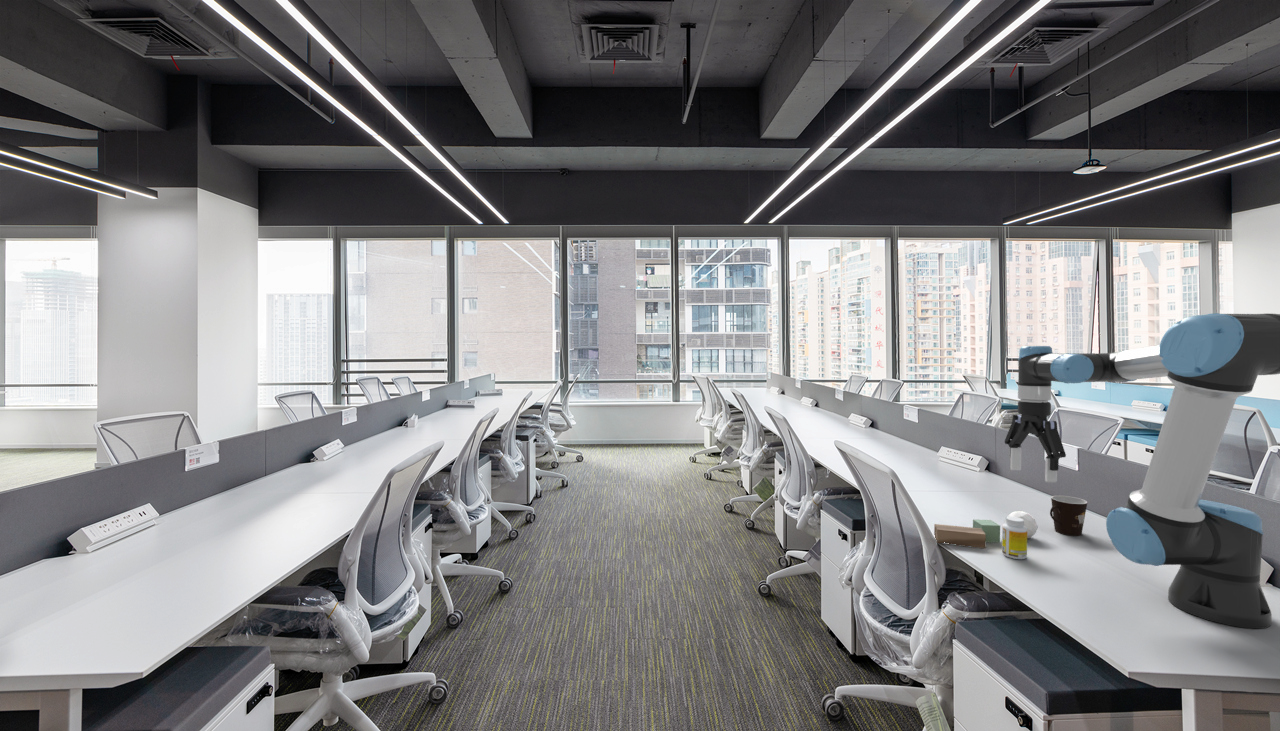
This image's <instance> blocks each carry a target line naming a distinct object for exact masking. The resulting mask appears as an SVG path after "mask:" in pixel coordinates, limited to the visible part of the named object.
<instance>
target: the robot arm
mask: <svg viewBox="0 0 1280 731" xmlns="http://www.w3.org/2000/svg"><path fill="white" fill-rule="evenodd" d="M1018 354H1019V355H1018V359H1017V362H1018V370H1017V373H1018V385H1017V399H1018V400H1019V401H1017V414H1013V415H1012V420H1011V424H1010V427H1009V429H1008V432H1007V434H1006V436H1005V440H1004V444H1005V445H1008V447H1009V449H1010V450H1009V456H1010V457H1009V458H1010V464H1009V465H1010V467H1009V468H1010V471H1022V461H1023V460H1022V457H1023V456H1022V455H1023V454H1022V450H1023V449H1022V444H1023V442H1024V441H1025V439H1027V437H1028V436H1029V434H1031V435H1034V436H1035V437H1037V438H1038V441H1039V442H1040V443H1041V445H1042V448H1043V449H1044V452H1045V454H1046V457H1045V462H1044V463H1045V466H1044V482H1045V483H1058V471H1059V465H1060V464H1059V460H1060V459H1062V458H1066V456H1067V454H1066V451H1065V448H1064V444H1063V442H1062V440H1061V437H1060V434H1059V430H1058V422H1057V421H1056V420H1048V416H1051V415H1052V412H1051V411H1052V403H1051V402H1050V401H1051V400H1052V382H1055V383H1056V382H1057V383H1058V382H1059V383H1064V384H1081V383H1099V382H1101V383H1103V382H1104V383H1127V382H1135V381H1137V380H1142V379H1143V380H1144V379H1145V380H1146V379H1153V378H1164V377H1167V379H1168V380H1169V381H1170V382H1171V384H1173V385H1174V387H1173V391H1172V393H1171V396H1170V397H1171V398H1170V399H1169V400H1170V401H1169V403H1168V406H1167V409H1166V412H1165V416H1164V419H1163V422H1162V425H1161V428H1160V430H1159V433H1158V438H1157V440H1156V443H1155V446H1154V449H1153V453H1152V455H1151V456H1152V457H1151V459H1150V462H1149V465H1148V469H1147V471H1146V474H1145V478H1144V480H1143V484H1142V487H1141V488H1140V489H1136V490H1133V491H1131V492H1130V494H1129V496H1128V499H1127V501H1126V504H1125V507H1123V506H1120V507H1117V508H1115V509H1111V511H1109V513H1108V515H1107V516H1106V521H1105V522H1106V523H1105V525H1106V526H1105V527H1106V532H1107V535H1108V538H1109V539H1110V541H1111V543H1112V545H1113V546H1114V547H1115V549H1116V550H1117V551H1118V553H1119V554H1120V555H1122V556H1123V557H1124V558H1126V559H1127V560H1128V561H1131V562H1132V563H1135V564H1139V565H1148V566H1149V565H1150V566H1155V567H1159V566H1164V565H1165V566H1170V565H1171V566H1174V565H1175V566H1179V565H1180V567H1179V569H1178V571H1177V573H1176V574H1175V576H1174V578H1173V580H1172V582H1171V583H1170V586H1169V587H1168V593H1167V594H1168V595H1167V596H1168V597H1167V600H1168V602H1169V603H1170V604H1171V605H1174V606H1175V607H1176V608H1178V609H1180V611H1181V610H1182V611H1183V612H1185V613H1187V614H1190V615H1194V616H1196V617H1198V618H1201V619H1205V620H1207V621H1211V622H1214V623H1219V624H1223V625H1227V626H1233V627H1238V628H1245V629H1265V628H1268V627H1270V626H1271V625H1272V611H1271V608H1270V606H1269V604H1268V601H1267V599H1266V596H1265V593H1264V591H1263V589H1262V586H1261V567H1262V551H1263V535H1264V531H1263V521H1262V520H1263V519H1262V518H1261V517H1260V515H1259V514H1257V513H1256V512H1254V511H1252V510H1249V509H1246V508H1243V507H1239V506H1235V505H1231V504H1226V503H1221V502H1217V501H1212V500H1205V499H1201V498H1202V494H1203V492H1204V489H1205V487H1206V483H1207V481H1208V478H1209V476H1210V473H1211V469H1212V466H1213V464H1214V462H1215V458H1216V455H1217V453H1218V451H1219V448H1220V445H1221V441H1222V439H1223V437H1224V434H1225V432H1226V429H1227V426H1228V423H1229V420H1230V417H1231V414H1232V412H1233V410H1234V407H1235V403H1236V400H1237V398H1239V397H1242V396H1244V395H1247V394H1250V393H1251V392H1252V391H1253V390H1254V385H1255V384H1256V381H1257V378H1258V376H1268V375H1269V376H1271V375H1272V376H1273V375H1275V376H1276V375H1279V374H1280V313H1219V312H1215V313H1206V314H1198V315H1197V314H1195V315H1191V316H1188V317H1185V318H1183V319H1181V320H1180V321H1177V322H1175V323H1174V324H1173V325H1171V326H1169V328H1168V329H1167V330H1166V331H1165V333H1164V334H1163V336H1162V337H1161V340H1160V342H1159V344H1158V345H1153V346H1152V345H1151V346H1147V347H1146V346H1145V347H1140V348H1139V347H1138V348H1134V349H1127V350H1123V351H1116V352H1115V351H1114V352H1106V353H1105V352H1104V353H1103V352H1101V353H1100V352H1099V353H1091V352H1090V353H1082V352H1081V353H1070V352H1069V353H1067V352H1066V353H1054V352H1053V348H1052V347H1051V346H1050V345H1024V346H1021V347H1020V348H1019V352H1018Z"/></svg>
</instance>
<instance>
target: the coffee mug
mask: <svg viewBox="0 0 1280 731" xmlns="http://www.w3.org/2000/svg"><path fill="white" fill-rule="evenodd" d="M1050 500H1051V508H1050V511H1049V515H1050V518H1051V519H1052V520H1053V527H1054V528H1053V529H1054V531H1055V532H1056V533H1058V534H1060V535H1065V536H1071V537H1079V536H1080V537H1081V536H1082V534H1083V528H1084V523H1085V517H1086V512H1087V507H1088V501H1087V500H1085V499H1082V498H1079V497H1075V496H1070V495H1069V496H1068V495H1052V496H1050Z"/></svg>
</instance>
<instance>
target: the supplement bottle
mask: <svg viewBox="0 0 1280 731" xmlns="http://www.w3.org/2000/svg"><path fill="white" fill-rule="evenodd" d="M1005 521H1006V523H1005V522H1004V523H1003V524H1002V528H1001V529H1002V531H1001V533H1002V535H1001V536H1002V537H1001V543H1002V544H1001V546H1002V547H1001V553H1002V554H1003V556H1005V557H1007V558H1010V559H1014V560H1024V559H1026V558H1027V556H1028V538H1027V528H1026V527H1025V526H1024V520H1023V519H1021V518H1018V517H1008V516H1006V518H1005Z"/></svg>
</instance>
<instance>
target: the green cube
mask: <svg viewBox="0 0 1280 731" xmlns="http://www.w3.org/2000/svg"><path fill="white" fill-rule="evenodd" d="M972 528H981V529H982V530H983V532H984V533H985V534H986V539H985V543H1001V525H1000V524H998V523H997V522H995V521H993V520H991V519H975V518H974V519H973V520H972Z"/></svg>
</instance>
